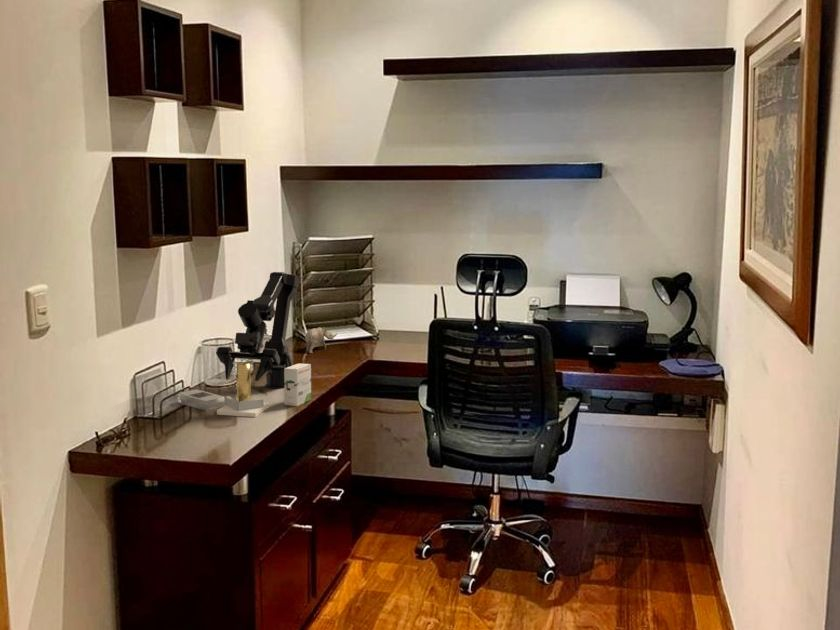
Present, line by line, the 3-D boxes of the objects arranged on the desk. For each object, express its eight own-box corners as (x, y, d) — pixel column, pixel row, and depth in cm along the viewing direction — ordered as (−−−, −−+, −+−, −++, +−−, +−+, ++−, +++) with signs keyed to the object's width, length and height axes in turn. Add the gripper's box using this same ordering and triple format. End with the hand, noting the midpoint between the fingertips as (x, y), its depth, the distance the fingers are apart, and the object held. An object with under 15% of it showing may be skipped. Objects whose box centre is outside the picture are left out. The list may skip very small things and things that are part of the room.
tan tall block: (241, 404, 255) (241, 362, 253) (253, 405, 253) (252, 363, 252) (234, 406, 251) (234, 364, 249) (246, 408, 250) (245, 365, 248)
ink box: (298, 398, 267) (298, 362, 265) (312, 400, 265) (311, 363, 263) (283, 404, 259) (283, 367, 258) (297, 406, 257) (297, 369, 256)
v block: (232, 404, 259) (231, 392, 258) (269, 406, 257) (269, 394, 257) (216, 414, 247) (216, 402, 247) (255, 416, 245) (255, 404, 245)
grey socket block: (177, 402, 260) (177, 393, 259) (196, 398, 265) (196, 389, 265) (205, 410, 251) (205, 401, 251) (224, 406, 257) (224, 396, 256)
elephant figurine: (292, 346, 337) (308, 314, 342) (308, 361, 348) (322, 329, 354) (308, 350, 334) (323, 318, 339) (323, 365, 345) (337, 333, 350)
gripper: (217, 320, 254) (203, 363, 245) (276, 322, 251) (264, 366, 242) (228, 341, 262) (214, 383, 253) (285, 343, 259) (273, 386, 250)
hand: (241, 379), depth 250 cm, fingers open, 9 cm apart
